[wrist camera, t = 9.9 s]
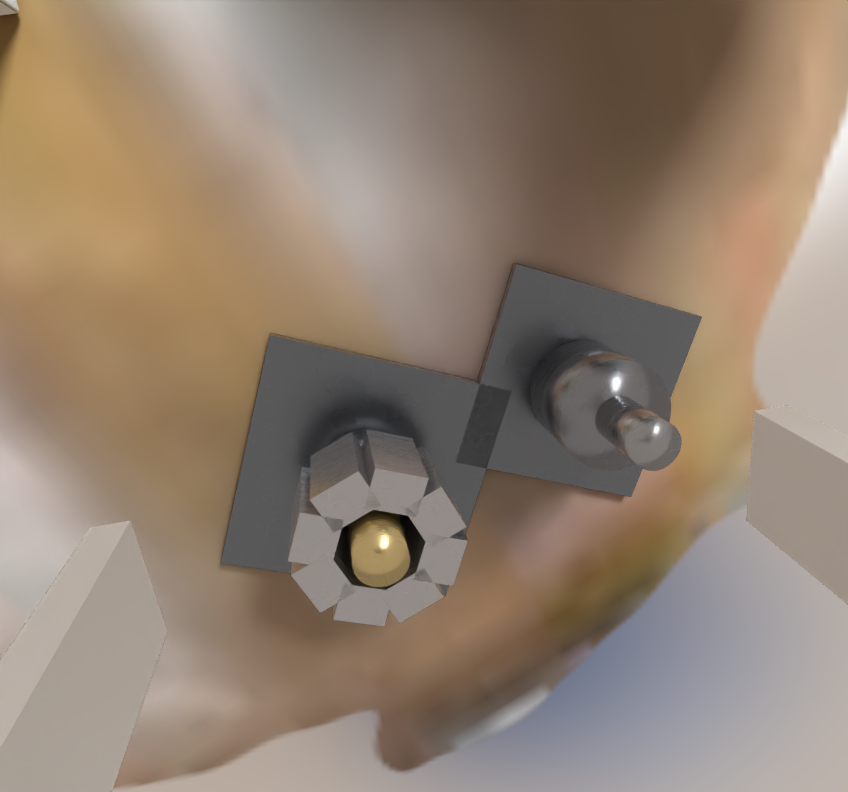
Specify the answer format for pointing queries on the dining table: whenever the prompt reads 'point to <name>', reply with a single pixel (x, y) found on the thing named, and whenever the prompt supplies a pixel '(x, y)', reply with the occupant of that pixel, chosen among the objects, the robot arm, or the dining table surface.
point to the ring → (356, 496)
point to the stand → (580, 383)
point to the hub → (334, 418)
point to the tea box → (8, 7)
